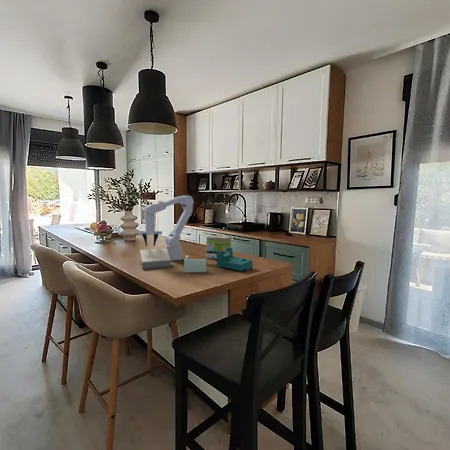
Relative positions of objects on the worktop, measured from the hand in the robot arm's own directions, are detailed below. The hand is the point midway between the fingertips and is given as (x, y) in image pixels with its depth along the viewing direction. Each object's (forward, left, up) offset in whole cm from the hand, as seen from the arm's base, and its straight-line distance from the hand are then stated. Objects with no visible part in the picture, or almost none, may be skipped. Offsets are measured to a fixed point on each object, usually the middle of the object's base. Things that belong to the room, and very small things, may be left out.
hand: (150, 246), depth 178 cm
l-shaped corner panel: (-22, +27, -11) cm, 37 cm away
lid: (-1, +10, -4) cm, 11 cm away
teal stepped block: (-44, +32, -11) cm, 56 cm away
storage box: (-1, +10, -10) cm, 14 cm away
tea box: (-45, +2, -11) cm, 47 cm away
